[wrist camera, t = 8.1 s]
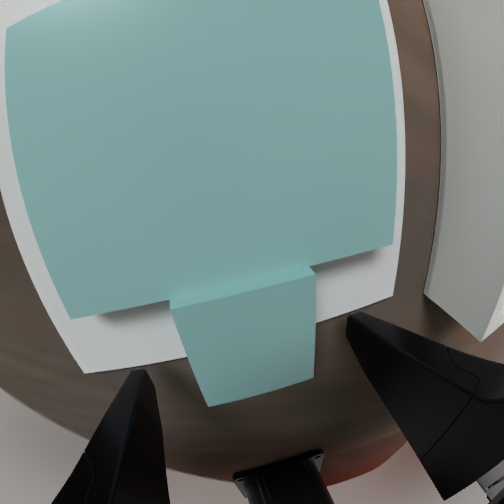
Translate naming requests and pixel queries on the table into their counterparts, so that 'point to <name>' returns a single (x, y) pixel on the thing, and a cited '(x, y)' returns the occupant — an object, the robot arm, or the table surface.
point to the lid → (205, 165)
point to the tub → (469, 163)
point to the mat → (158, 314)
